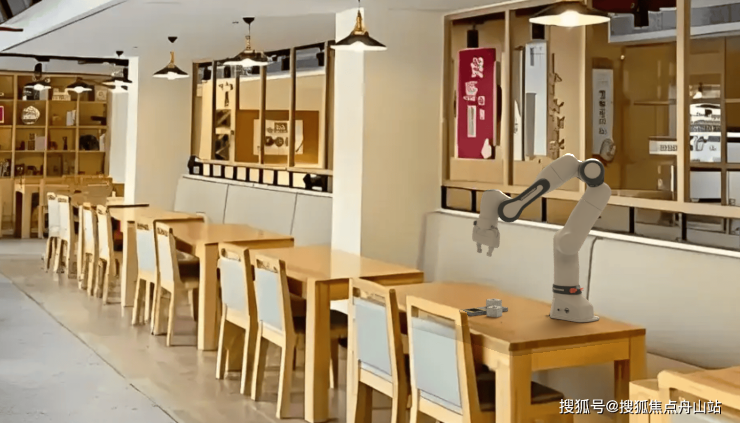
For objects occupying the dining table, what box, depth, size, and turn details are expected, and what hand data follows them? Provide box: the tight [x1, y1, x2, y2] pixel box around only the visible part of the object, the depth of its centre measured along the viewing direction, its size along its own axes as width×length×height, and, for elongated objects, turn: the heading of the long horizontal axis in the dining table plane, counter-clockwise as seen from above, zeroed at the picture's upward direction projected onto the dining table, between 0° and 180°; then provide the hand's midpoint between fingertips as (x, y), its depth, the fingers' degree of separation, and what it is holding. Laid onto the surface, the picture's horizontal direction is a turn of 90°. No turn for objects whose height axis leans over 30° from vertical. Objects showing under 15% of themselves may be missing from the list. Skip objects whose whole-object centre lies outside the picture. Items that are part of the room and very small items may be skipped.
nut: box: [486, 306, 503, 318], centre depth 383 cm, size 5×5×5 cm
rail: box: [460, 305, 509, 317], centre depth 391 cm, size 8×22×3 cm, turn 125°
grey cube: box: [485, 298, 503, 308], centre depth 394 cm, size 5×5×5 cm
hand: (484, 254), depth 395 cm, fingers open, 8 cm apart
